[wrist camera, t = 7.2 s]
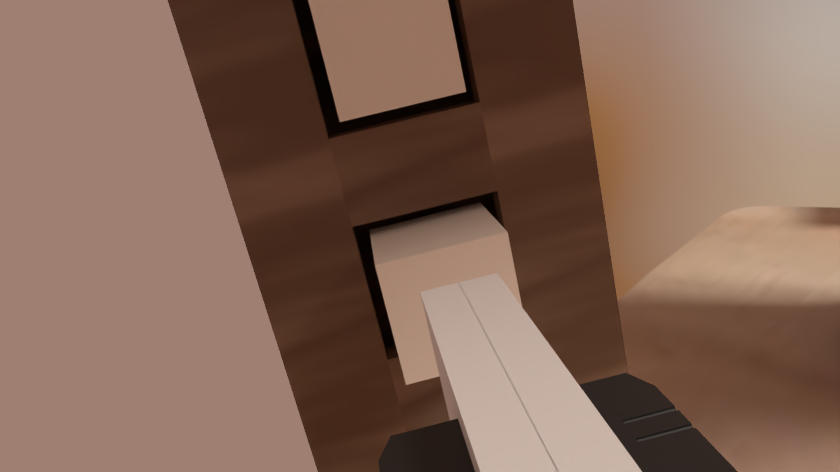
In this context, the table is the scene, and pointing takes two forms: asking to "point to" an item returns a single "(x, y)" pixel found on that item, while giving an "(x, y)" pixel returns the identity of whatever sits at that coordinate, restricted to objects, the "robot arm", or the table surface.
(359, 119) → the switch panel
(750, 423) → the table surface
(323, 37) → the top key
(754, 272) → the table surface
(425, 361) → the middle key
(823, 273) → the table surface
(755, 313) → the table surface
